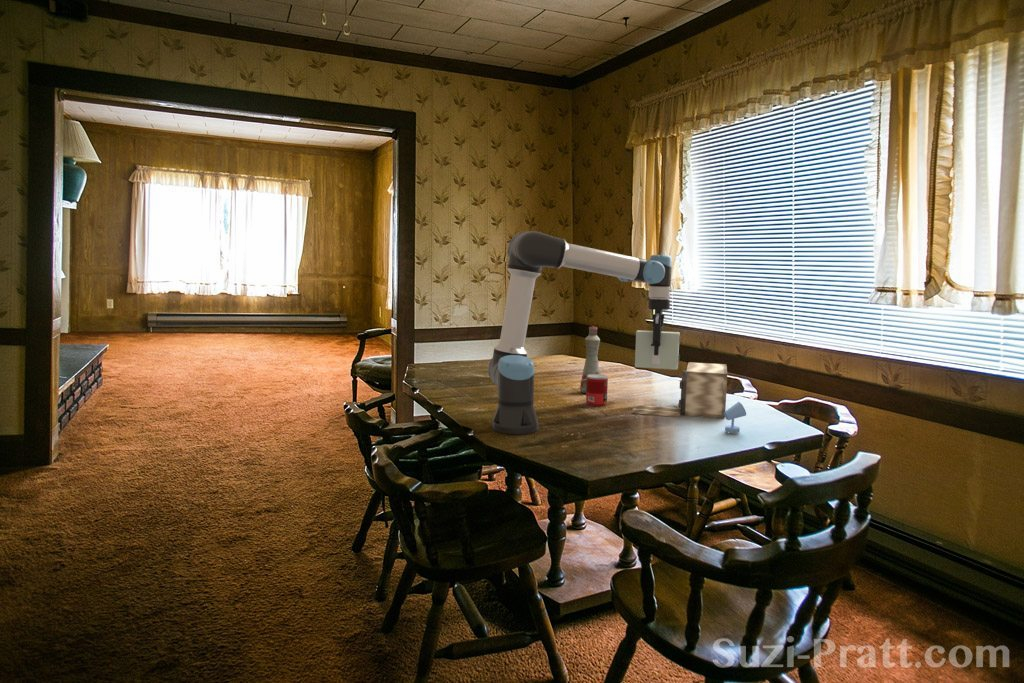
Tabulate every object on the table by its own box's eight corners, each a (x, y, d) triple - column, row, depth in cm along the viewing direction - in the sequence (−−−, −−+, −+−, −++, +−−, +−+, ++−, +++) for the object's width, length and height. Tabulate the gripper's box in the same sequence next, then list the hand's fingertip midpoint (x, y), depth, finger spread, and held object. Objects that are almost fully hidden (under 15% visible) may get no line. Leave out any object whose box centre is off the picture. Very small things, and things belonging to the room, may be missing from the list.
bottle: (591, 395, 268) (593, 327, 265) (575, 392, 275) (577, 325, 271) (605, 393, 274) (607, 326, 270) (589, 389, 281) (591, 324, 277)
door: (634, 367, 239) (636, 331, 238) (636, 365, 243) (637, 330, 242) (678, 369, 235) (679, 333, 233) (678, 368, 239) (680, 332, 237)
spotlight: (740, 429, 219) (720, 430, 218) (742, 400, 217) (721, 400, 217) (747, 433, 214) (726, 434, 213) (748, 403, 212) (728, 403, 212)
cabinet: (632, 413, 240) (634, 369, 238) (640, 398, 264) (641, 359, 262) (725, 420, 231) (727, 375, 229) (724, 405, 255) (726, 364, 252)
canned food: (608, 406, 250) (609, 377, 249) (587, 406, 250) (587, 377, 249) (605, 402, 258) (606, 374, 256) (585, 401, 258) (585, 373, 256)
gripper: (668, 300, 227) (665, 367, 230) (671, 297, 243) (668, 360, 246) (646, 299, 229) (643, 366, 232) (650, 296, 245) (648, 358, 248)
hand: (656, 362), depth 239 cm, fingers closed on door, 4 cm apart
